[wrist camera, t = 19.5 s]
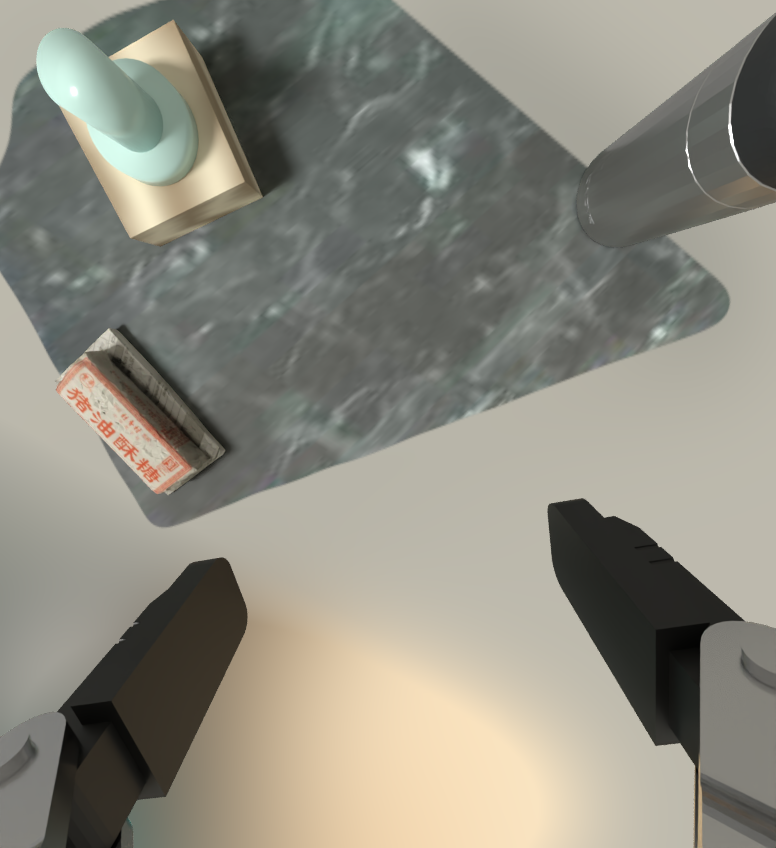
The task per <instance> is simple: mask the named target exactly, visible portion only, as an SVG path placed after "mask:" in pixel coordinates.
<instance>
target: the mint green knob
mask: <svg viewBox="0 0 776 848" xmlns="http://www.w3.org/2000/svg"><path fill="white" fill-rule="evenodd" d="M36 61H37V70H38V75H39V78H40V81H41V83H42V85H43V87H44V89H45V90H46V92H47V93H48V95H49V96H50V97H51V98H52V99H53V101H55V102H56V103H57V104H58V105H59V106H61V107H62V108H64V109H65V110H67V111H69V112H70V113H72V114H73V115H75V116H76V117H78V118H80V119H81V120H83V121H84V122H86V124H87V128H88V131H89V134H90V136H91V138H92V141H93V143H94V144H95V146H96V148H97V149H98V151H99V152H100V153H101V155H102V156H103V157H104V158H105V159H106V160H107V161H108V162H109V163H110V164H111V165H112V166H113V167H115V168H116V169H118V170H119V171H121V172H123V173H125V174H126V175H128V176H130V177H132V178H134V179H136V180H138V181H140V182H142V183H144V184H147V185H151V186H167V185H171V184H174V183H176V182H178V181H179V180H181V179H182V178H183V177H184V176H186V174H187V173H188V172H189V171H190V169H191V168H192V166H193V164H194V162H195V159H196V156H197V151H198V141H199V139H198V129H197V124H196V121H195V118H194V115H193V113H192V110H191V108H190V107H189V105H188V103H187V102H186V100H185V99H184V97H183V96H182V95H181V94H180V93H179V92H178V91H177V89H176V88H175V87H174V86H173V85H172V84H171V83H170V82H169V81H168V80H167V79H166V78H165V77H164V76H163V75H162V74H161V73H160V72H159V71H158V70H156V69H155V68H154V67H152V66H150V65H148V64H147V63H144V62H142V61H139V60H135V59H128V58H123V59H116V60H113V61H112V60H111V59H110V58H109V57H107V56H106V55H105V54H104V53H103V52H102V51H101V50H100V49H99V48H98V47H97V46H96V45H94V44H93V43H92V42H91V41H90V40H89V39H88V38H87V37H86V36H84V35H83V34H81V33H80V32H78V31H75V30H73V29H69V28H58V29H55V30H52V31H51V32H49V33H48V34H47V35H46V36H45V37H44V38H43V39H42V41H41V43H40V45H39V48H38V51H37V60H36Z"/></svg>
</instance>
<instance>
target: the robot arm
mask: <svg viewBox="0 0 776 848" xmlns="http://www.w3.org/2000/svg"><path fill="white" fill-rule="evenodd" d="M775 202H776V13H775V14H773V15H772V16H771V17H770V18H768V19H767V20H766V21H765V22H763V23H762V24H761V25H760V26H758V27H757V28H756V29H755V30H753V31H752V32H751V33H750V34H749V35H747V36H746V37H745V38H743V39H742V40H741V41H740V42H739V43H737V44H736V45H735V46H734V47H733V48H731V49H730V50H729V51H728V52H726V53H725V54H724V55H723V56H721V57H720V58H719V59H717V60H716V61H715V62H714V63H712V64H711V65H710V66H709V67H707V68H706V69H705V70H704V71H703V72H701V73H700V74H699V75H698V76H696V77H695V78H694V79H693V80H691V81H690V82H689V83H687V84H686V85H685V86H684V87H683V88H681V89H680V90H679V91H677V92H676V93H675V94H674V95H672V96H671V97H670V98H669V99H668V100H666V101H665V102H664V103H662V104H661V105H660V106H659V107H657V108H656V109H655V110H654V111H652V112H651V113H650V114H649V115H647V116H646V117H645V118H644V119H642V120H641V121H640V122H639V123H637V124H636V125H635V126H634V127H632V128H631V129H630V130H628V131H627V132H626V133H625V134H623V135H622V136H621V137H620V138H618V139H617V140H616V141H615V142H614V143H612V144H611V145H610V146H608V147H607V148H606V149H605V150H604V151H602V152H601V153H600V154H599V155H598V156H597V157H596V158H595V159H594V160H593V161H592V162H591V163H590V165H589V167H588V168H587V170H586V171H585V173H584V175H583V177H582V180H581V182H580V185H579V189H578V193H577V213H578V218H579V221H580V223H581V226H582V228H583V229H584V231H585V232H586V234H587V235H588V236H589V237H590V238H591V239H593V240H594V241H595V242H597V243H599V244H601V245H603V246H607V247H612V248H619V247H626V246H630V245H634V244H637V243H641V242H644V241H648V240H651V239H655V238H658V237H662V236H665V235H668V234H672V233H675V232H678V231H682V230H685V229H689V228H691V227H695V226H699V225H702V224H705V223H709V222H712V221H715V220H719V219H722V218H726V217H729V216H732V215H736V214H739V213H742V212H746V211H749V210H752V209H756V208H759V207H762V206H765V205H768V204H772V203H775ZM548 522H549V533H550V543H551V554H552V562H553V567H554V571H555V574H556V577H557V580H558V582H559V584H560V586H561V588H562V590H563V592H564V593H565V595H566V597H567V598H568V600H569V602H570V603H571V605H572V606H573V608H574V610H575V612H576V613H577V615H578V617H579V618H580V620H581V622H582V623H583V625H584V627H585V628H586V630H587V632H588V633H589V635H590V637H591V639H592V640H593V642H594V643H595V645H596V647H597V649H598V650H599V652H600V654H601V655H602V657H603V658H604V660H605V662H606V664H607V665H608V667H609V669H610V670H611V672H612V674H613V675H614V677H615V678H616V680H617V682H618V684H619V685H620V687H621V689H622V690H623V692H624V694H625V695H626V697H627V699H628V700H629V702H630V704H631V706H632V707H633V708H634V711H635V712H636V714H637V716H638V717H639V719H640V721H641V722H642V724H643V726H644V727H645V729H646V731H647V732H648V734H649V735H650V737H651V739H652V741H653V742H654V744H655V745H656V746H658V745H667V744H676V743H681V745H682V746H683V748H684V749H685V751H686V752H687V754H688V756H689V757H690V759H691V760H692V762H693V763H694V765H695V776H694V777H695V779H694V848H776V628H772V627H769V626H766V625H762V624H757V623H753V622H745V621H744V620H743V619H742V618H741V617H740V616H738V615H737V614H736V613H735V612H734V611H733V610H732V609H731V608H730V607H728V606H727V605H726V604H725V603H724V602H723V601H722V600H720V599H719V598H718V597H717V596H716V595H715V594H714V593H713V592H711V591H710V590H709V589H708V588H707V587H706V586H705V585H703V584H702V583H701V582H700V581H699V580H698V579H697V578H695V577H694V576H693V575H692V574H691V573H690V572H689V571H688V570H686V569H685V568H684V567H683V566H682V565H681V564H680V563H679V562H675V561H674V559H673V557H672V556H671V555H670V554H668V553H667V552H666V551H665V550H664V549H663V548H662V547H658V545H657V543H656V542H655V541H654V540H653V539H651V538H650V537H649V536H648V535H647V534H646V533H644V532H643V531H642V530H641V529H640V528H639V527H637V526H635V525H632V524H630V523H628V522H626V521H624V520H622V519H620V518H618V517H616V516H612V517H606V518H604V517H603V516H602V515H601V514H600V513H599V512H598V511H596V509H595V508H594V507H593V506H592V505H591V504H589V502H588V501H586V500H585V499H583V498H581V499H575V500H569V501H563V502H558V503H551V504H549V505H548ZM246 626H247V608H246V605H245V602H244V599H243V597H242V594H241V592H240V589H239V586H238V584H237V581H236V579H235V576H234V573H233V571H232V569H231V566H230V564H229V562H228V561H227V560H226V559H225V558H216V559H210V560H204V561H198V562H193V563H191V564H189V565H188V566H187V568H186V569H185V570H184V571H183V572H182V573H181V575H180V576H179V577H178V578H177V579H176V581H175V582H174V583H173V584H172V585H171V587H170V588H169V589H168V590H166V591H165V592H164V593H163V594H161V595H160V596H159V597H158V598H157V599H155V600H154V601H153V602H151V603H150V604H149V605H148V607H147V608H146V609H145V610H144V611H143V612H142V613H141V615H140V616H139V617H138V618H137V619H136V621H135V622H134V625H133V627H130V628H129V629H128V630H127V631H126V632H125V633H124V634H123V636H122V637H121V638H120V639H119V643H118V644H115V645H114V646H113V647H112V648H111V650H110V651H109V652H108V653H107V654H106V655H105V657H104V658H103V659H102V660H101V661H100V662H99V664H98V665H97V666H96V667H95V668H94V670H93V671H92V672H91V673H90V674H89V675H88V676H87V678H86V679H85V680H84V681H83V682H82V684H81V685H80V686H79V687H78V688H77V689H76V690H75V692H74V693H73V694H72V695H71V696H70V698H69V699H68V700H67V701H66V702H65V703H64V704H63V706H62V707H61V708H60V709H59V710H58V711H57V712H49V713H44V714H41V715H38V716H36V717H33V718H31V719H29V720H27V721H25V722H23V723H21V724H19V725H18V726H16V727H14V728H13V729H11V730H10V731H8V732H7V733H5V734H4V735H2V736H1V737H0V848H133V826H132V824H131V822H130V820H129V818H128V815H129V814H130V812H131V810H132V808H133V806H134V804H135V802H136V801H137V800H139V799H148V798H158V797H166V795H167V793H168V791H169V789H170V787H171V785H172V782H173V781H174V779H175V777H176V774H177V772H178V770H179V768H180V766H181V764H182V762H183V759H184V758H185V756H186V753H187V751H188V750H189V747H190V745H191V743H192V741H193V739H194V737H195V735H196V733H197V731H198V729H199V727H200V724H201V722H202V720H203V718H204V716H205V714H206V712H207V710H208V708H209V706H210V704H211V702H212V700H213V698H214V696H215V693H216V691H217V689H218V687H219V685H220V683H221V681H222V679H223V677H224V675H225V672H226V670H227V668H228V666H229V664H230V662H231V660H232V658H233V656H234V654H235V652H236V650H237V648H238V646H239V644H240V641H241V639H242V637H243V635H244V633H245V630H246Z"/></svg>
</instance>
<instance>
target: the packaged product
mask: <svg viewBox="0 0 776 848" xmlns="http://www.w3.org/2000/svg"><path fill="white" fill-rule="evenodd" d="M55 382H57V383H58V385H57V389H56V391H57V392H58V393H59V394H60V395H61V396H62V398H63V399H64V400H65V401H66V402H67V403H68V404H69V405H70V406H71V407H72V408H73V409H74V410H75V411H76V412H77V413H78V414H79V415H80V417H81V418H82V419H83V420H84V421H85V422H86V423H87V424H88V425H89V426H90V427H91V428H92V429H93V430H95V432H96V433H97V434H98V435H99V436H100V437H101V438H102V439H103V440H104V441H105V442H106V443H107V444H108V445H109V446H110V447H111V448H112V449H113V450H114V451H115V452H116V453H117V454H118V455H119V456H120V457H121V458H122V459H123V460H124V461H125V462H126V463H127V465H128V466H130V467H131V469H132V470H133V471H134V472H135V473H137V474H138V476H139V477H140V478H141V479H142V480H143V481H144V482H145V483H146V484H147V485H148V487H149V488H151V490H153V491H154V492H155V493H157V494H160V493H163V492H165V493H166V494H167V495H169V494H171V493H172V492H174V491H175V490H176V489H178V488H179V487H181V486H182V485H183V484H185V483H186V482H187V481H189V480H190V479H191V478H193V477H194V476H195V475H196V474H198V473H199V472H200V471H201V470H203V469H204V468H205V467H207V466H208V465H209V464H211V463H212V462H213V461H215V460H216V459H218V458H219V457H220V456H222V455H223V454H224V452H225V449H224V448H223V447H222V446H221V444H220V443H219V442H218V441H217V440H216V439H215V438H214V437H213V436H212V435H211V434H210V433H209V431H208V430H207V429H206V428H205V427H204V425H203V424H202V423H201V422H200V420H199V419H198V418H197V417H196V416H195V414H194V413H193V412H192V411H191V410H190V409H189V408H188V406H187V405H186V404H185V403H184V402H183V401H182V399H181V398H180V397H179V396H178V395H177V394H176V393H175V391H174V390H173V389H172V388H171V387H170V386H169V384H168V383H167V382H166V381H165V380H164V379H163V378H162V377H161V375H160V374H159V373H158V372H157V371H156V370H155V369H154V368H153V367H152V366H151V365H150V364H149V362H148V361H147V360H146V359H145V358H144V357H143V356H142V355H141V354H140V353H139V352H138V351H137V350H136V349H135V348H134V347H133V345H132V344H131V343H130V342H129V341H128V340H127V339H126V338H125V337H124V336H123V335H122V334H121V333H120V332H119V331H118V330H116V329H110V328H109V329H108V330H107V331H106V332H105V333H103V334H102V335H101V336H100V337H99V338H98V340H97V341H96V342H94V343H93V344H92V345H91V346H90V347H89V348H88V349H87V350H86V351H85V353H84V354H83V355H82V356H80V357H79V358H78V359H77V360H76V361H75V362H74V363H73V364H71V365H70V367H69V368H68V369H66V371H65V372H63V373H62V374H61V376H60V377H59V378H58V379H57V380H56V381H55Z"/></svg>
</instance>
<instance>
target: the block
mask: <svg viewBox="0 0 776 848" xmlns="http://www.w3.org/2000/svg"><path fill="white" fill-rule="evenodd" d="M109 58H110V59H111V60H112V61H113V60H116V59H123V58H128V59H135V60H139V61H142V62H144V63H147V64H148V65H150V66H152V67H154V68H155V69H156V70H158V71H159V72H160V73H161V74H162V75H163V76H164V77H165V78H166V79H167V80H168V81H169V82H170V83H171V84H172V85H173V86H174V87H175V88H176V89H177V91H178V92H179V93H180V94H181V95H182V96H183V97H184V99H185V100H186V102H187V103H188V105H189V107H190V108H191V110H192V113H193V115H194V118H195V121H196V124H197V129H198V139H199V141H198V151H197V156H196V159H195V162H194V164H193V166H192V168H191V169H190V171H189V172H188V173H187V174H186V176H184V177H183V178H182V179H181V180H179V181H178V182H176V183H174V184H171V185H167V186H151V185H147V184H144V183H142V182H140V181H138V180H136V179H134V178H132V177H130V176H128V175H126V174H125V173H123V172H121V171H119V170H118V169H116V168H115V167H113V166H112V165H111V164H110V163H109V162H108V161H107V160H106V159H105V158H104V157H103V156H102V155H101V153H100V152H99V151H98V149H97V148H96V146H95V144H94V143H93V141H92V138H91V136H90V134H89V131H88V128H87V124H86V122H84V121H83V120H81V119H80V118H78V117H76V116H75V115H73V114H72V113H70V112H69V111H67V110H65V109H64V108H62V107H61V106H60V108H61V110H62V112H63V114H64V116H65V118H66V119H67V121H68V123H69V125H70V127H71V129H72V131H73V132H74V134H75V136H76V138H77V140H78V142H79V144H80V145H81V147H82V149H83V151H84V153H85V155H86V157H87V158H88V160H89V162H90V164H91V166H92V168H93V170H94V171H95V173H96V175H97V177H98V179H99V181H100V182H101V184H102V186H103V188H104V190H105V192H106V194H107V195H108V197H109V199H110V201H111V203H112V205H113V207H114V208H115V210H116V212H117V214H118V216H119V218H120V220H121V221H122V223H123V225H124V227H125V229H126V231H127V233H128V234H129V236H130V238H132V239H136V240H139V241H143V242H146V243H150V244H153V245H157V246H163V245H165V244H167V243H169V242H171V241H173V240H175V239H177V238H179V237H181V236H183V235H185V234H187V233H190V232H192V231H194V230H196V229H198V228H200V227H202V226H204V225H206V224H208V223H210V222H212V221H214V220H217V219H219V218H221V217H223V216H225V215H227V214H229V213H231V212H233V211H235V210H237V209H239V208H241V207H243V206H246V205H248V204H250V203H252V202H254V201H256V200H258V199H260V198H262V197H263V196H262V194H261V192H260V189H259V187H258V185H257V182H256V180H255V178H254V175H253V173H252V171H251V168H250V166H249V164H248V162H247V159H246V157H245V155H244V152H243V150H242V148H241V145H240V143H239V141H238V138H237V136H236V134H235V132H234V129H233V127H232V125H231V122H230V120H229V118H228V115H227V113H226V111H225V108H224V106H223V104H222V102H221V99H220V97H219V95H218V92H217V90H216V88H215V85H214V83H213V81H212V78H211V76H210V74H209V72H208V69H207V67H206V65H205V62H204V60H203V58H202V56H201V55H200V54H199V53H198V51H197V50H196V49H195V47H194V46H193V45H192V43H191V42H190V41H189V39H188V38H187V37H186V36H185V34H184V33H183V32H182V30H181V29H180V28H179V26H178V25H177V24H176V23H175V21H174V20H172V21H171V22H169V23H167V24H165V25H164V26H162V27H160V28H158V29H157V30H155V31H153V32H151V33H150V34H148V35H146V36H145V37H143V38H141V39H139V40H138V41H136V42H134V43H132V44H131V45H129V46H127V47H125V48H124V49H122V50H120V51H119V52H117V53H115V54H113V55H112V56H110V57H109Z"/></svg>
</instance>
